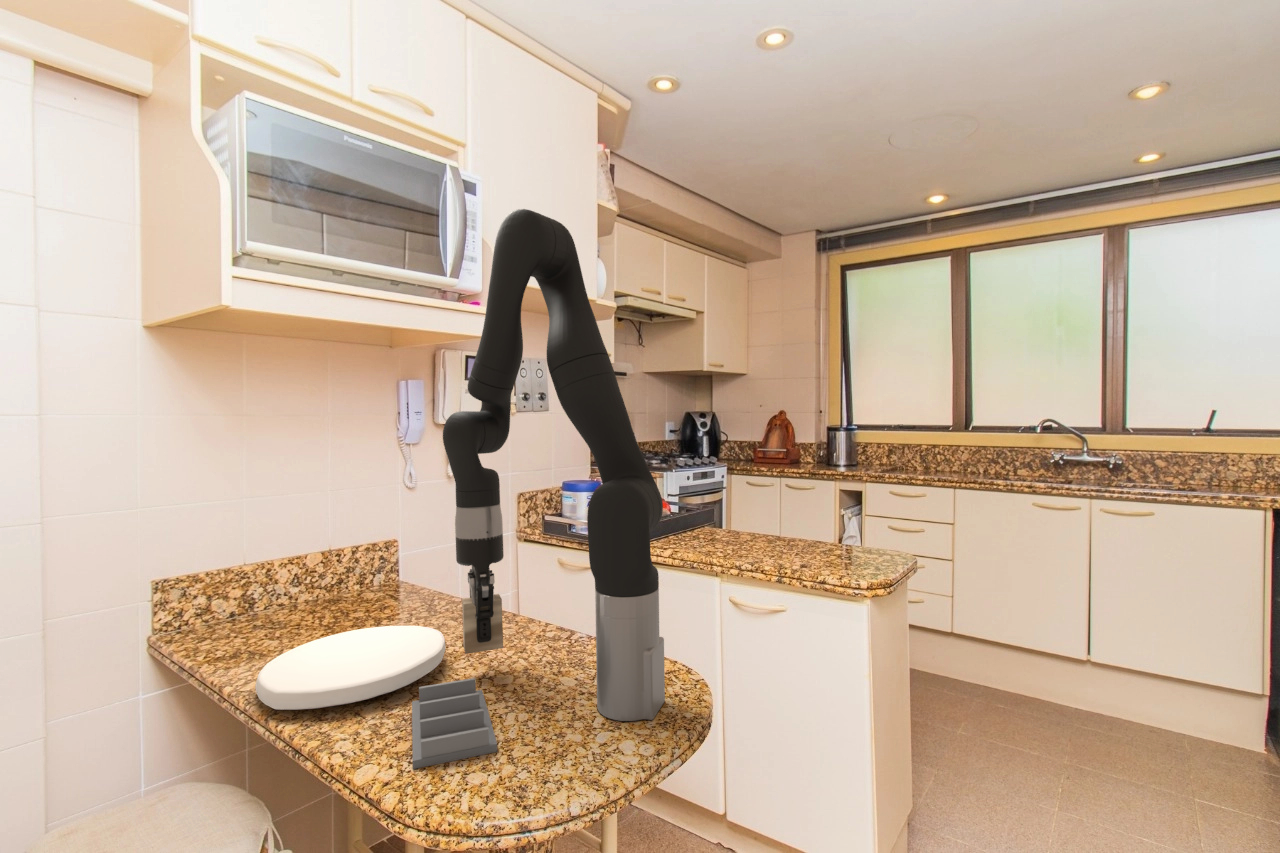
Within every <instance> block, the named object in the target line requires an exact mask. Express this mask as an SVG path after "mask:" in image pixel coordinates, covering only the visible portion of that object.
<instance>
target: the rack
mask: <svg viewBox="0 0 1280 853" xmlns="http://www.w3.org/2000/svg"><path fill="white" fill-rule="evenodd" d="M476 681H477V680H476V677H472V678H465V679H461V680H460V679H459V680H453V681H448V682H442V683H437V684H436V683H435V684H429V685H422V686H418V697H419V698H418V700H413V701H411V718H412V719H411V721H412V722H411V726H412V728H411V729H412V730H411V731H412V734H411V735H412V737H411V738H412V740H411V742H412V770H415V769H420V768H426V767H430V766H435V765H439V764H444V763H449V762H455V761H459V760H463V759H469V758H474V757H477V756H483V755H487V754H488V755H489V754H493V753H497V752H498V743H497V738H496V734H495V731H494V728H493V724H492V720H491V716H490V713H489V710H488V706H487V702H486V699H485V695H484V690H483V689H478V690H476V689H477V685H476V684H477V682H476Z"/></svg>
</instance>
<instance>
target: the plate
mask: <svg viewBox="0 0 1280 853" xmlns="http://www.w3.org/2000/svg"><path fill="white" fill-rule="evenodd" d="M445 653H446V639H445V636H444V635H443V632H441V631H440V630H438V629H436V628H432V627H427V626H422V625H421V626H420V625H387V626H386V625H384V626H383V625H382V626H375V627H373V626H372V627H367V628H366V627H365V628H360V629H354V630H347V631H343V632H339V633H335V634H331V635H328V636H324V637H321V638H317V639H314V640H312V641H308V642H306V643H304V644H301V645H298V646H296V647H294V648H292V649H290V650H288V651H286V652H283V653H282V654H279V655H278V656H277V657H274V658H273V659H272V660H270V661H269V662H267V663H266V664H265V665H264V666H263V667H262V669H261V670H260V671H259V672H258V675H257V678H256V681H255V693H256V695H257V698H258V699H259V700H260V701H261V702H262V703H263V704H264V705H266V706H267V707H270V708H272V709H274V710H276V711H278V710H282V711H283V710H284V711H285V710H286V711H287V710H289V711H290V710H291V711H292V710H293V711H294V710H295V711H296V710H297V711H298V710H311V709H320V708H327V707H333V706H341V705H347V704H352V703H356V702H361V701H364V700H369V699H373V698H375V697H379V696H381V695H385V694H389V693H391V692H394V691H397V690H399V689H401V688H403V687H406V686H408V685H410V684H412V683H414V682H415V681H417V680H419V679H421V678H423V677H424V676H426V675H427V674H429V673H430V672H432V671H434V669H436V668H437V666H439V665H440V663H442V660H443V659H444V655H445Z"/></svg>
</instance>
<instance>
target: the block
mask: <svg viewBox="0 0 1280 853" xmlns="http://www.w3.org/2000/svg"><path fill="white" fill-rule="evenodd" d="M475 598H476V599H477V597H475ZM461 608H462V611H461V612H462V637H463V639H462V642H463V650H464V654H465V655H468V654H474V653H482V652H486V651H494V650H500V649H504V629H503V600H502V597H501V595H500V593H496V594H494V601H493V612H494V614H493V617H492V618H491V640H490V641H488V642H482V643H479V642H478V641H477V624H476V618H475V614H476V613H475V605H474V604H472V598H470V597H463V598H461ZM481 610H488V606H484V607H481V608H480V611H481Z"/></svg>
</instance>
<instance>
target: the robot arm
mask: <svg viewBox="0 0 1280 853" xmlns="http://www.w3.org/2000/svg"><path fill="white" fill-rule="evenodd" d="M493 249H494V250H493V253H492V254H493V255H492V263H491V269H490V270H491V272H490V278H489V285H488V292H487V301H486V307H485V308H486V310H485V317H484V322H483V326H482V327H483V329H482V332H481V338H480V341H479V345H478V349H477V352H476V354H475V357H474V360H473V361H474V362H473V365H472V368H471V370H470V374H469V378H468V382H467V392H468V393H469V394H470V396H472V398H474V399H476V400H478V401H480V402H481V408H480V410H479V411H468V410H467V411H464V410H463V411H461V410H460V411H456V412H454V413H452V414H450V416H448V418H447V419H446V421H445V423H444V426H443V430H442V442H443V446H444V450H445V453H446V456H447V460H448V462H449V466H450V470H451V473H452V476H453V480H454V482H455V505H456V508H455V516H454V517H455V518H454V520H455V521H454V526H455V527H454V529H455V532H454V534H455V558H456V562H457V564H458V565H460V566H466V567H469V566H470V567H471V568H470V569H469V572H467V582H468V588H469V590H468V592H469V598H472V604H474V605H475V613H476V614H475V618H476V624H477V641H478V642H479V643H482V642H488V641H490V640H491V618H492V617H493V614H494V612H493V601H494V593H495V592H494V590H495V586H494V584H495V582H496V581H495V573H494V572H493V570H492V569H490V565H492V564H497V563H500V562H501V561H502V560H503V559H504V532H503V531H504V530H503V529H504V528H503V525H504V524H503V514H502V508H501V490H500V487H501V486H500V485H501V484H500V476H499V473H498V472H497V470H494V469H493V468H487V467H484V466H483V465H482V463H481V460H480V456H479V455H480V454H481V455H482V454H492V453H496V452H497V451H500V450H501V448H502V447H503V446H504V445H505V443H506V442H507V440H508V437H509V434H510V426H511V410H512V409H511V408H512V407H511V406H512V404H511V403H512V393H513V389H514V387H515V384H516V381H517V377H518V375H519V371H520V368H521V364H522V360H523V354H524V338H523V329H522V306H523V305H522V304H523V301H524V300H523V299H524V296H525V292H526V289H527V286H528V283H529V282H530V279H531V278H532V277H533V278H534V279H535V280H536V282H537V284H538V287H539V289H540V291H541V294H542V297H543V298H544V302H545V305H546V309H547V313H548V321H549V323H548V324H549V325H548V334H547V341H546V342H547V343H546V364H547V367H548V371H549V372H548V373H549V374H550V378H551V381H552V383H553V386H554V389H555V392H556V396H557V398H558V401H559V403H560V405H561V408H562V410H563V411H564V413H565V415H566V416H567V418H568V419H569V421H570V423H572V425H573V426H574V428H575V429H576V431H577V432H578V434H580V436H581V438H582V439H583V441H584V442H585V444H586V445H587V446H588V448H589V450H590V451H591V454H592V456H593V459H594V461H595V463H596V466H597V470H598V472H599V476H600V477H599V478H600V479H601V483H602V484H601V485H599V486H598V487H597V488H596V489H595V490H594V492H593V493H592V494H591V496H590V499H589V503H588V507H587V515H586V516H587V519H586V520H587V522H586V523H587V525H586V526H587V542H588V543H587V545H588V560H589V568H590V571H591V573H592V576H593V578H594V588H595V589H594V592H595V594H594V595H595V597H594V598H595V649H596V650H595V653H596V654H595V657H596V662H595V663H596V705H597V706H596V708H597V711H598V712H599V714H600V715H602V716H603V717H604V718H607V719H611V720H614V721H621V722H633V721H634V722H636V721H640V720H650V721H651V720H654V718H655V717H656V715H657V714H658V712H659V711H660V709H661V708H662V706H663V704H665V702H666V696H665V695H666V691H665V690H666V689H665V688H666V687H665V686H666V684H665V678H666V677H665V638H664V636H660V594H659V593H660V591H659V590H660V589H659V586H660V585H659V584H660V582H659V577H660V576H659V571H658V568H657V567H656V566H655V565H653V561H652V555H651V554H652V552H651V534H650V533H651V532H653V531H654V530H655V529H656V528H657V527H658V525H660V524H659V523H660V521H661V520H662V517H663V516H662V515H663V512H664V511H663V509H664V503H663V499H662V494H661V492H660V489H659V488H658V485H657V483H656V481H655V479H654V478H655V477H654V476H653V475H652V472H651V470H650V468H649V466H648V464H647V462H646V459H645V457H644V455H643V453H642V451H641V448H640V446H639V444H638V441H637V438H636V436H635V433H634V429H633V427H632V423H631V420H630V416H629V413H628V410H627V407H626V404H625V400H624V397H623V395H622V392H621V390H620V387H619V382H618V379H617V376H616V373H615V371H614V367H613V364H612V361H611V359H610V358H611V357H610V356H609V353H608V350H607V348H606V345H605V343H604V340H603V337H602V334H601V332H600V328H599V325H598V323H597V320H596V316H595V314H594V311H593V308H592V305H591V303H590V300H589V296H588V293H587V289H586V286H585V281H584V278H583V273H582V272H583V271H582V268H581V264H580V259H579V256H578V251H577V247H576V244H575V241H574V238H573V236H572V234H571V233H570V231H569V229H568V228H567V227H566V226H565V225H564V224H563V223H561V222H560V221H557V220H556V219H553V218H551V217H548V216H546V215H543V214H541V213H539V212H536V211H535V210H534V211H533V210H531V209H526V208H521V209H520V208H519V209H516V210H512V211H511V212H509V213H508V214H507V215H506V216H505V217H504V219H503V220H502V222H501V224H500V225H499V227H498V230H497V234H496V238H495V243H494V248H493ZM475 597H477V599H476V598H475ZM484 606H488V610H481V611H480V608H481V607H484Z"/></svg>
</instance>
